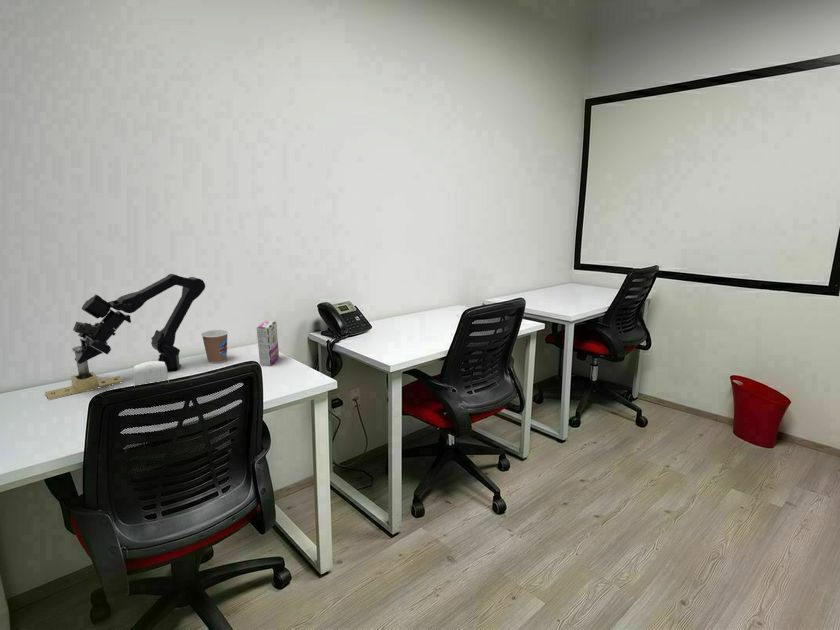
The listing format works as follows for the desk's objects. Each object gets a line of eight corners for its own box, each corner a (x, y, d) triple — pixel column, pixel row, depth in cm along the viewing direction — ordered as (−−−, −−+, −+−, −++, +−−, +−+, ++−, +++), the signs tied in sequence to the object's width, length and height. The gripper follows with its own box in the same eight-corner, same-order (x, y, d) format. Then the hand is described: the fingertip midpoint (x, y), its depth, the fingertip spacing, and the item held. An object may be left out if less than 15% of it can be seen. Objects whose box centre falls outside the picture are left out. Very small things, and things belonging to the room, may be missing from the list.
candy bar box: (267, 357, 208) (265, 320, 204) (279, 357, 208) (277, 320, 204) (258, 366, 197) (256, 327, 193) (271, 366, 197) (268, 327, 193)
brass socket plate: (118, 377, 183) (117, 366, 182) (124, 382, 178) (122, 370, 177) (45, 394, 167) (42, 381, 166) (49, 399, 162) (46, 387, 161)
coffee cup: (223, 364, 198) (221, 336, 195) (199, 364, 198) (196, 336, 196) (234, 356, 208) (232, 330, 205) (211, 356, 208) (208, 329, 206)
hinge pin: (92, 375, 175) (87, 345, 172) (90, 379, 171) (85, 348, 168) (79, 377, 173) (73, 346, 170) (76, 381, 169) (71, 350, 167)
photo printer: (169, 390, 171) (165, 357, 168) (170, 395, 168) (166, 361, 165) (135, 397, 166) (131, 362, 163) (136, 401, 162) (131, 366, 159)
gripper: (80, 308, 175) (48, 344, 170) (94, 317, 163) (60, 356, 158) (109, 325, 183) (79, 360, 178) (124, 335, 170) (92, 372, 165)
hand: (77, 361), depth 169 cm, fingers closed on hinge pin, 3 cm apart
